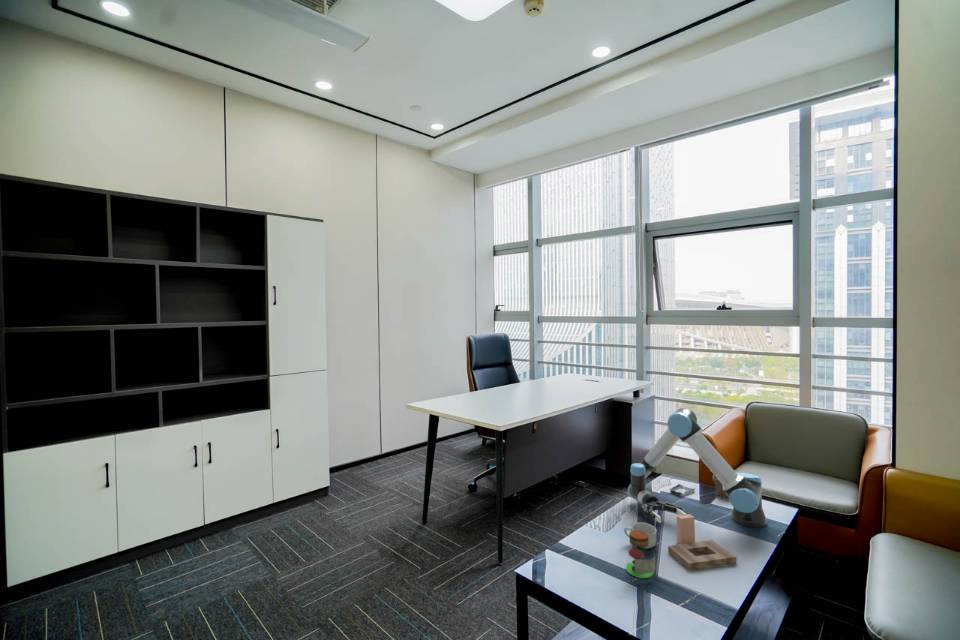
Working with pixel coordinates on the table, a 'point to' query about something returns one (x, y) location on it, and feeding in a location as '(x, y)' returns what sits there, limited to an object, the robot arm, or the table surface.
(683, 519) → the salmon rectangular block
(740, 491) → the robot arm
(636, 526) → the teacup
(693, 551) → the slotted rack
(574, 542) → the table surface
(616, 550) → the table surface
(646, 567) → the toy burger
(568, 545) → the table surface
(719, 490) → the flower pot
